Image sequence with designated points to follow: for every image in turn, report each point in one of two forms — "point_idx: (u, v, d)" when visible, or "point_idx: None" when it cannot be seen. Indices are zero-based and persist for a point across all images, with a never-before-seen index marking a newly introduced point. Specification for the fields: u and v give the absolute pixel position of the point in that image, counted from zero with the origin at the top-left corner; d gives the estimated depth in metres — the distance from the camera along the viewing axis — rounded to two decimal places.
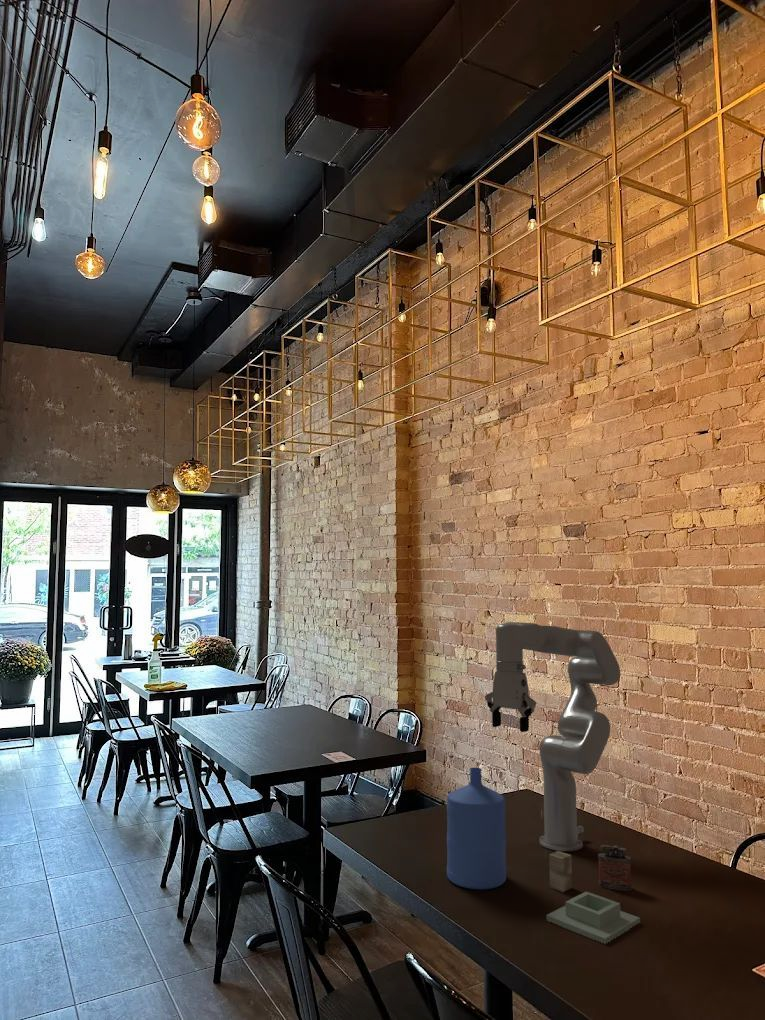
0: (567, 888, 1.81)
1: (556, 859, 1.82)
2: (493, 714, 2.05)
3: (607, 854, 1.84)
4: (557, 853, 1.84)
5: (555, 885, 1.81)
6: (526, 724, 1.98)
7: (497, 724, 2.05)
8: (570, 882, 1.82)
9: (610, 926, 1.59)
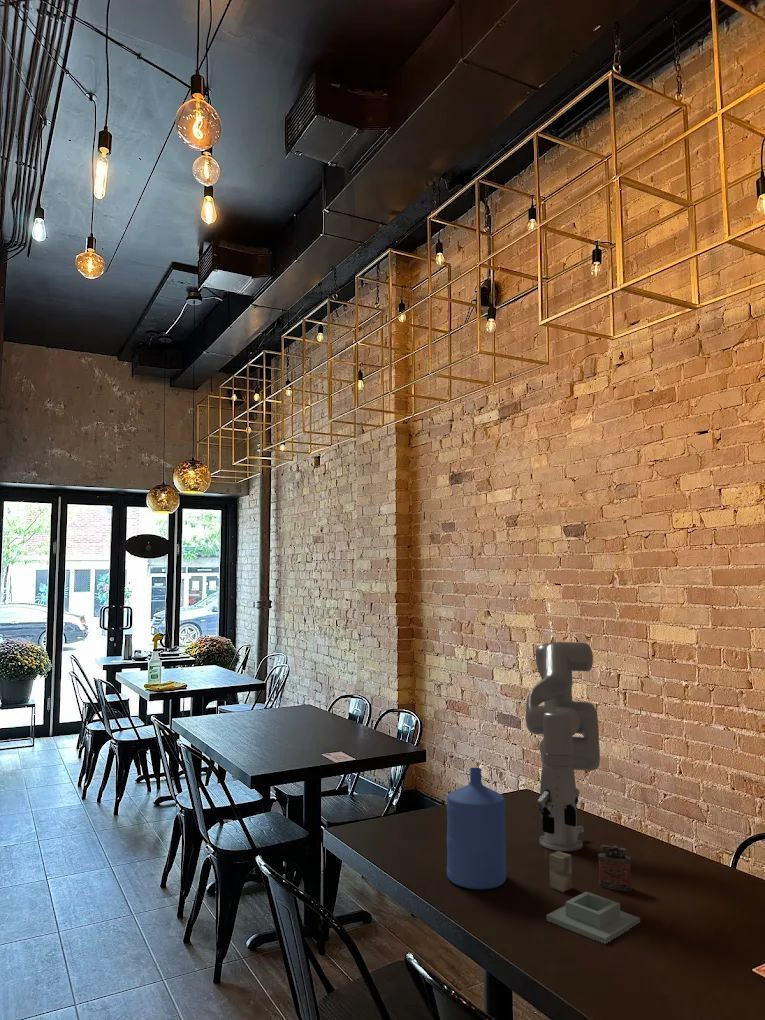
0: (567, 888, 1.81)
1: (556, 859, 1.82)
2: (553, 819, 1.80)
3: (607, 854, 1.84)
4: (557, 853, 1.84)
5: (555, 885, 1.81)
6: None
7: None
8: (570, 882, 1.82)
9: (610, 926, 1.59)
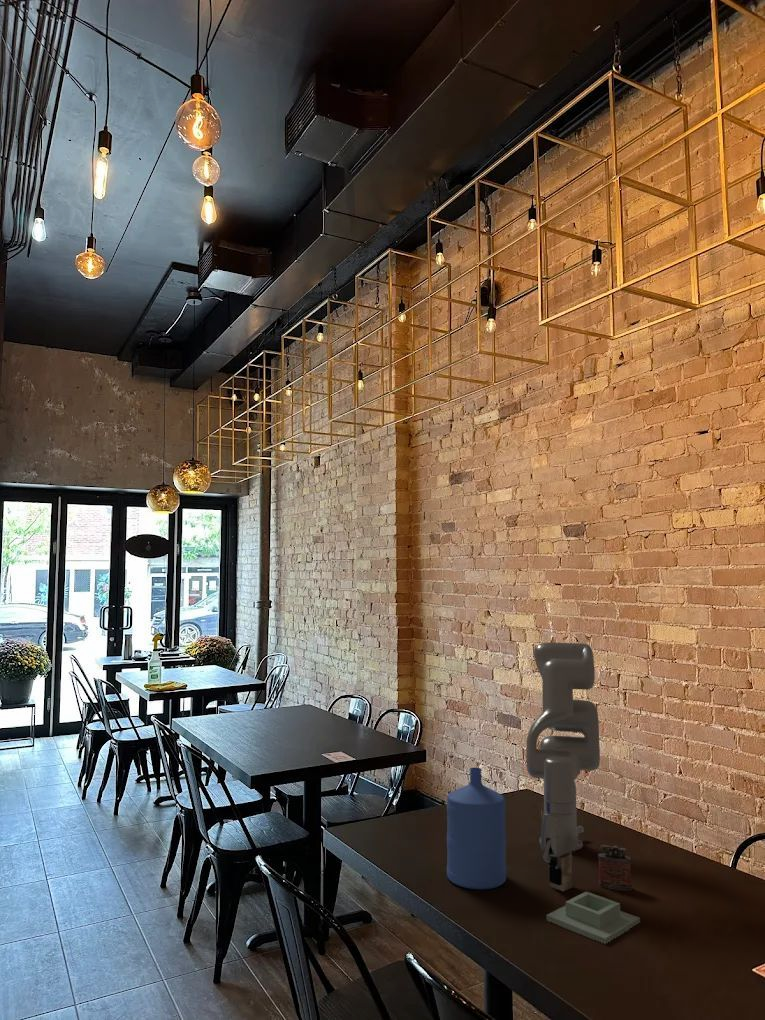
0: (567, 888, 1.81)
1: None
2: (560, 870, 1.80)
3: (607, 854, 1.84)
4: None
5: (555, 884, 1.82)
6: None
7: None
8: (570, 882, 1.82)
9: (610, 926, 1.59)
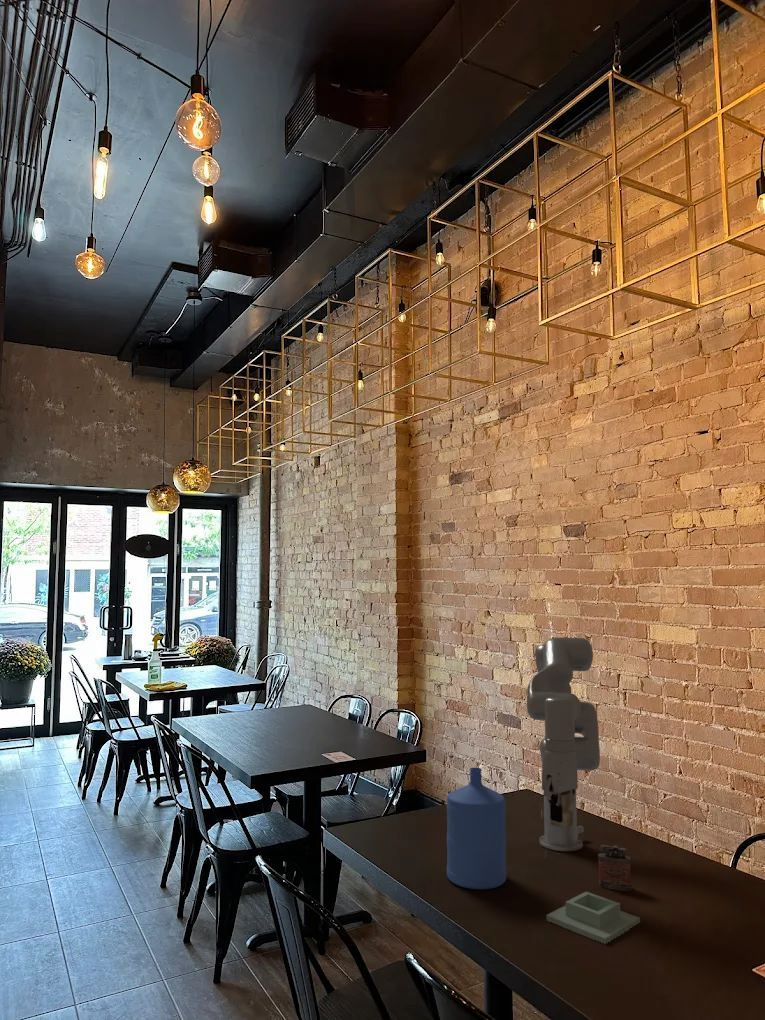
0: (568, 825, 1.81)
1: None
2: (561, 807, 1.81)
3: (607, 854, 1.84)
4: None
5: (556, 822, 1.82)
6: None
7: None
8: (571, 819, 1.82)
9: (610, 926, 1.59)
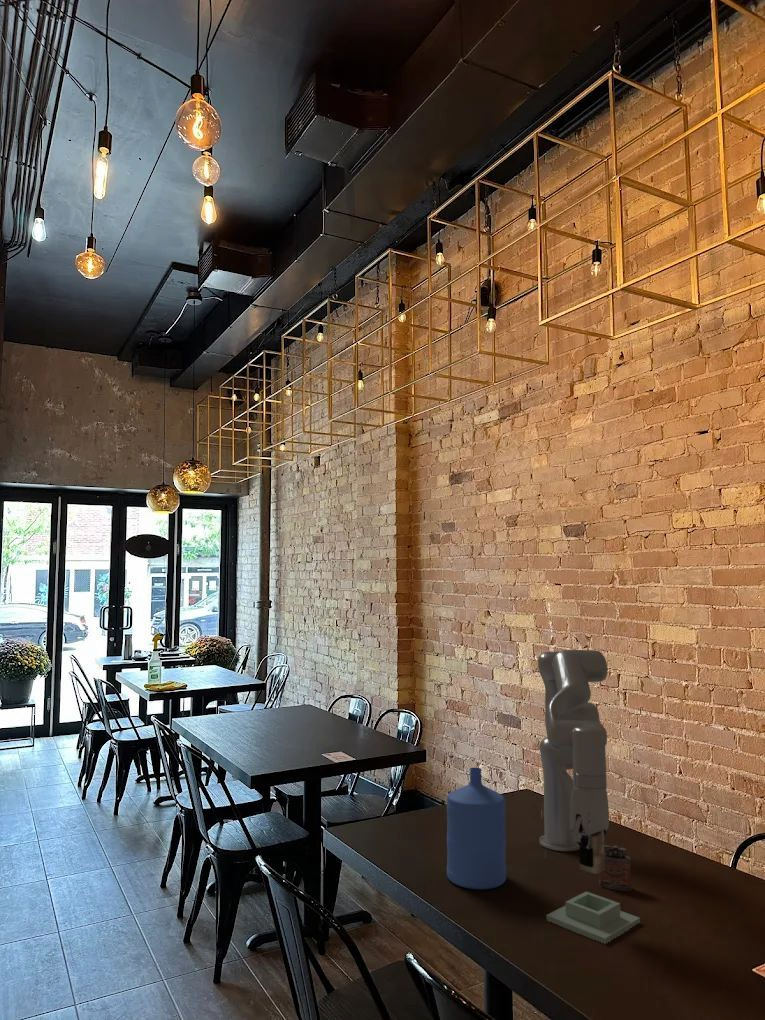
0: (600, 870, 1.63)
1: None
2: (592, 850, 1.62)
3: (607, 854, 1.84)
4: None
5: (586, 867, 1.63)
6: None
7: None
8: (603, 863, 1.64)
9: (610, 926, 1.59)
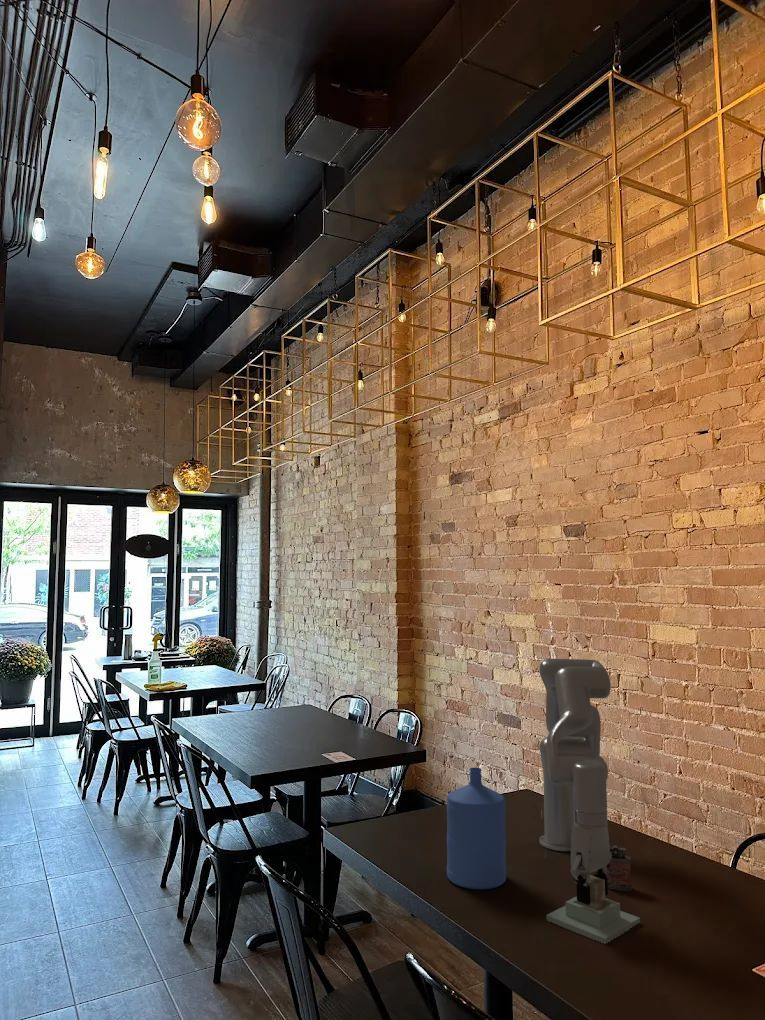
0: None
1: (588, 885, 1.63)
2: (589, 888, 1.61)
3: None
4: None
5: None
6: None
7: None
8: None
9: (610, 926, 1.59)
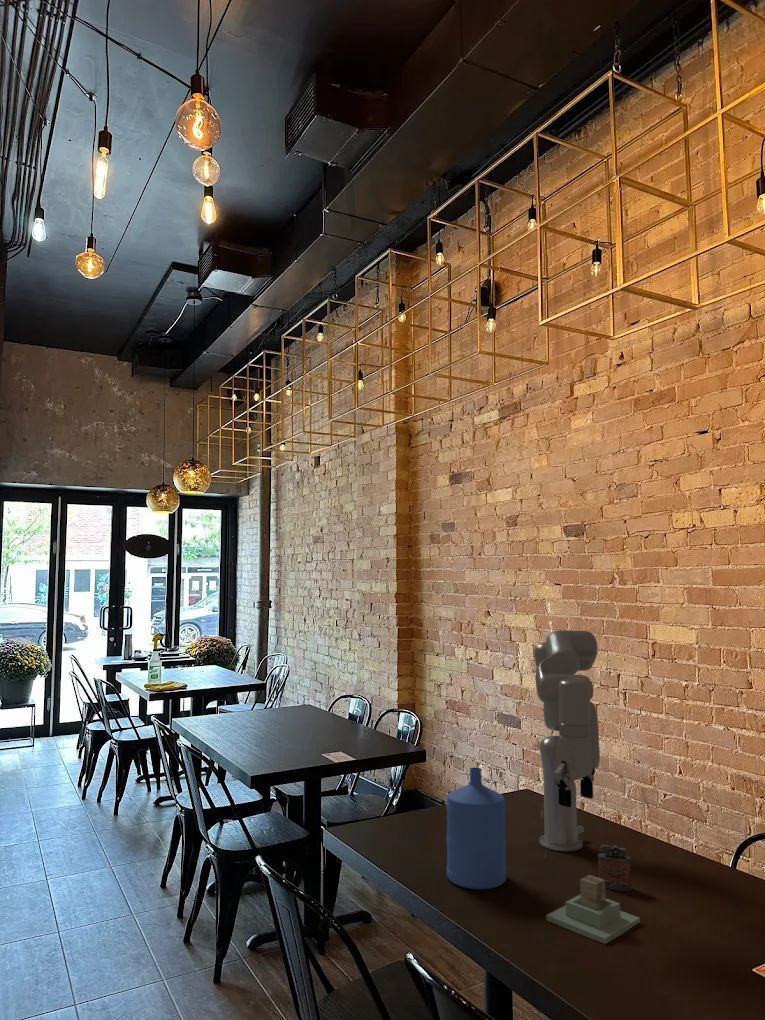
0: None
1: (588, 884, 1.63)
2: (570, 792, 1.71)
3: (607, 854, 1.84)
4: (589, 877, 1.66)
5: None
6: None
7: None
8: None
9: (610, 926, 1.59)
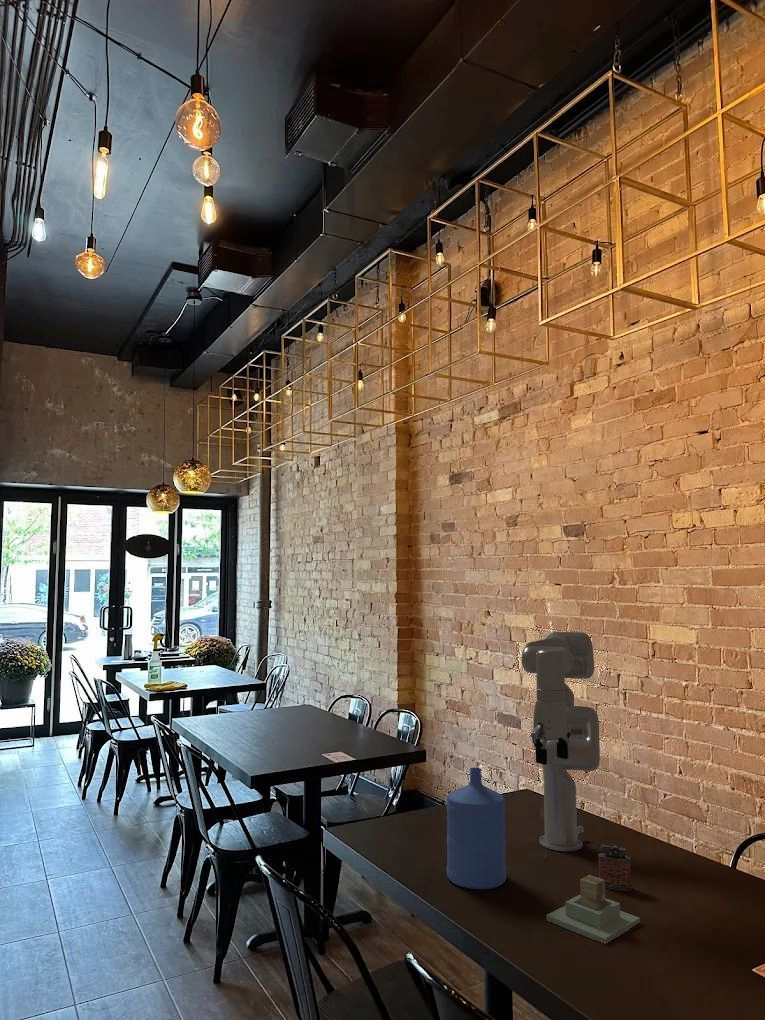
0: None
1: (588, 884, 1.63)
2: (546, 750, 1.87)
3: (607, 854, 1.84)
4: (589, 877, 1.66)
5: None
6: None
7: None
8: None
9: (610, 926, 1.59)
